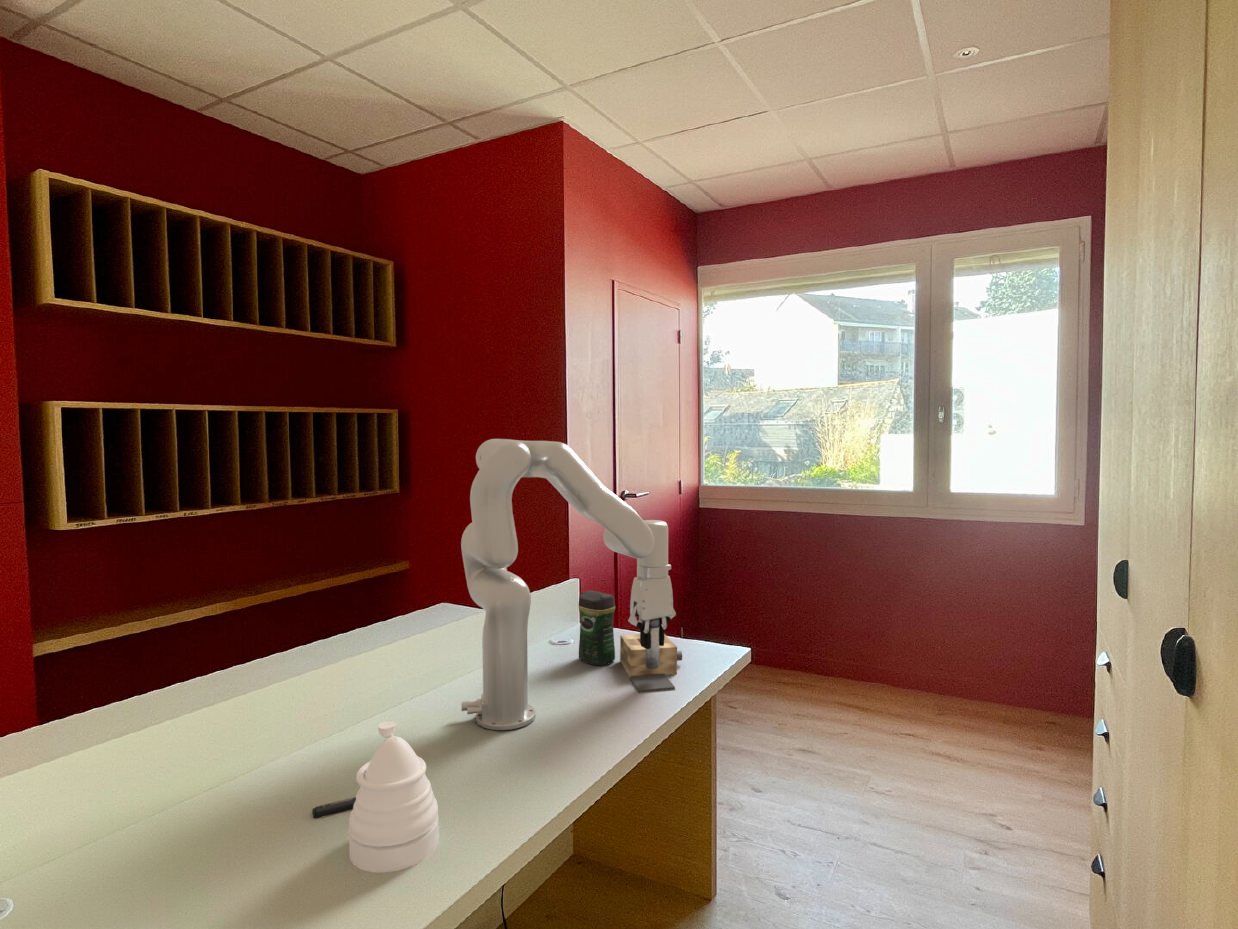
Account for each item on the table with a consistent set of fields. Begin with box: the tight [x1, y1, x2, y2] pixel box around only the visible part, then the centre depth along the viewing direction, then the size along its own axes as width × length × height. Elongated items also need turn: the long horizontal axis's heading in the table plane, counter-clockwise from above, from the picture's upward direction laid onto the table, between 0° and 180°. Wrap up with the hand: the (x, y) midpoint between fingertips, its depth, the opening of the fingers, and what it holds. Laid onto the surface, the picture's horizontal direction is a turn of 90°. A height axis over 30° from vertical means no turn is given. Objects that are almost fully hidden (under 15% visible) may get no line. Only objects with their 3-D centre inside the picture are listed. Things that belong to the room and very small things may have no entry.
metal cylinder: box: [646, 618, 660, 669], centre depth 167 cm, size 3×3×12 cm
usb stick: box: [311, 796, 356, 819], centre depth 114 cm, size 10×3×2 cm, turn 119°
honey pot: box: [348, 720, 440, 874], centre depth 103 cm, size 13×13×18 cm
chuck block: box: [619, 633, 683, 677], centre depth 179 cm, size 15×12×7 cm
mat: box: [629, 674, 676, 693], centre depth 167 cm, size 9×9×1 cm
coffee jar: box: [578, 589, 616, 666], centre depth 183 cm, size 10×8×19 cm
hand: (652, 645), depth 167 cm, fingers closed on metal cylinder, 3 cm apart
